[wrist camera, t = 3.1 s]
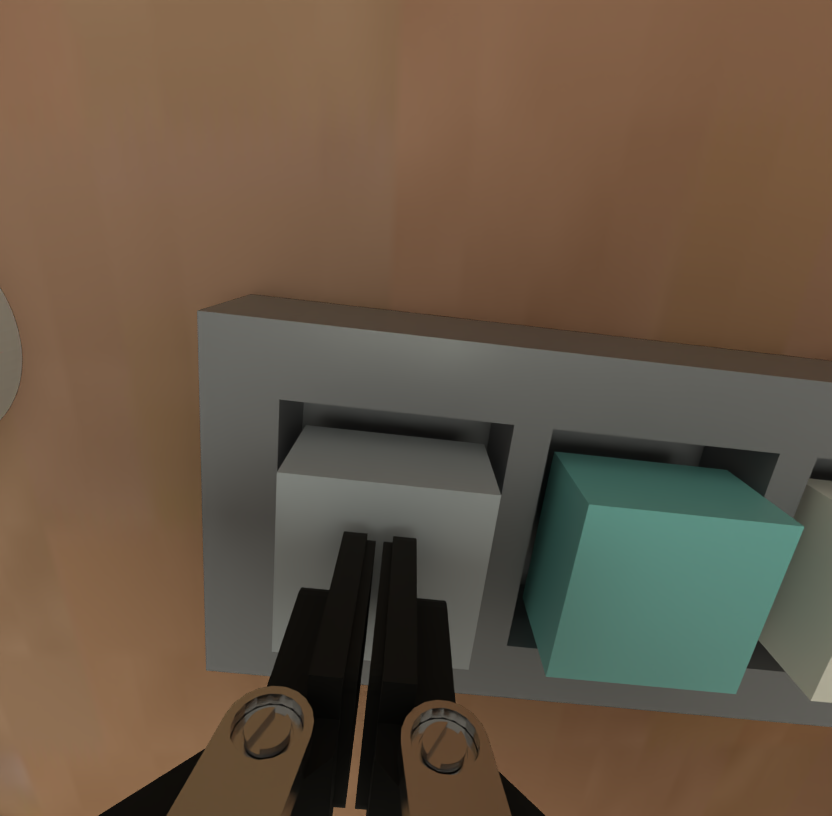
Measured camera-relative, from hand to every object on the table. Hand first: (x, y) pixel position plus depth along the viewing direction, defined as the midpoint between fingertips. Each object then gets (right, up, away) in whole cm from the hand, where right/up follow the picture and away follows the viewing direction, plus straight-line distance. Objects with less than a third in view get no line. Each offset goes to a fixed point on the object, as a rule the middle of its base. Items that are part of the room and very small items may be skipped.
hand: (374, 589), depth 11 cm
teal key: (+7, 0, +3) cm, 8 cm away
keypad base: (+7, +1, +6) cm, 10 cm away
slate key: (0, +1, +3) cm, 3 cm away
